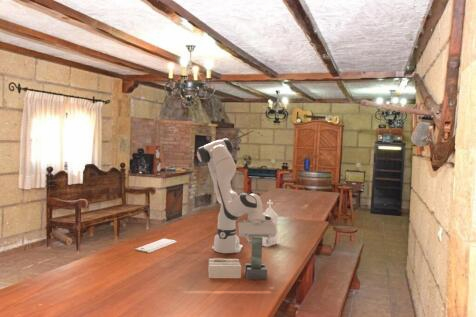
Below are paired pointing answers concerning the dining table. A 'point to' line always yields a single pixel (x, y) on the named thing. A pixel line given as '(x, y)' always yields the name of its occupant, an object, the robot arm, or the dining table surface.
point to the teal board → (256, 252)
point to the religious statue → (273, 214)
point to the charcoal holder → (255, 272)
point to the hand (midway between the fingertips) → (258, 243)
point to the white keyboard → (155, 245)
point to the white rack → (224, 269)
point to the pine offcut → (218, 259)
